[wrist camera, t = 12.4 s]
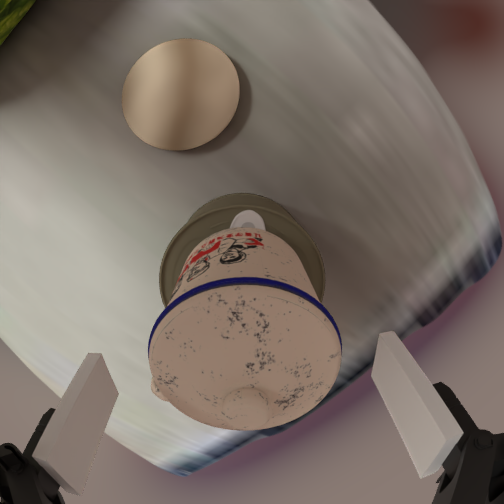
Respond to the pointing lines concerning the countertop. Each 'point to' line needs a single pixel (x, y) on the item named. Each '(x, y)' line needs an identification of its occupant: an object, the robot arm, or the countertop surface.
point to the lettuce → (12, 15)
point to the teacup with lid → (244, 335)
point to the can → (231, 216)
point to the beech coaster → (180, 94)
